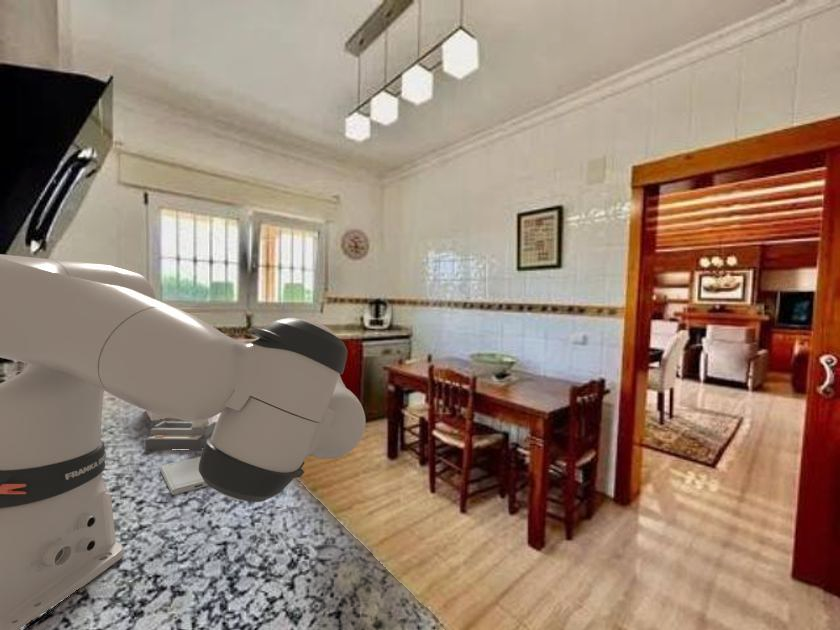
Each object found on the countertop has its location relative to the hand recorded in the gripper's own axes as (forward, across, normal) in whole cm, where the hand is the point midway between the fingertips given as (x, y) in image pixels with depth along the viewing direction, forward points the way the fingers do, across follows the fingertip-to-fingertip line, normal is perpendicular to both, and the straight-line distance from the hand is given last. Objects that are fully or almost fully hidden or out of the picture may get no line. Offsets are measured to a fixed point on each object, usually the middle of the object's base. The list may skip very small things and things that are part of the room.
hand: (219, 396), depth 91 cm
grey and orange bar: (+4, 0, -8) cm, 9 cm away
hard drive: (-2, -18, -12) cm, 21 cm away
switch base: (+8, 0, -11) cm, 13 cm away
